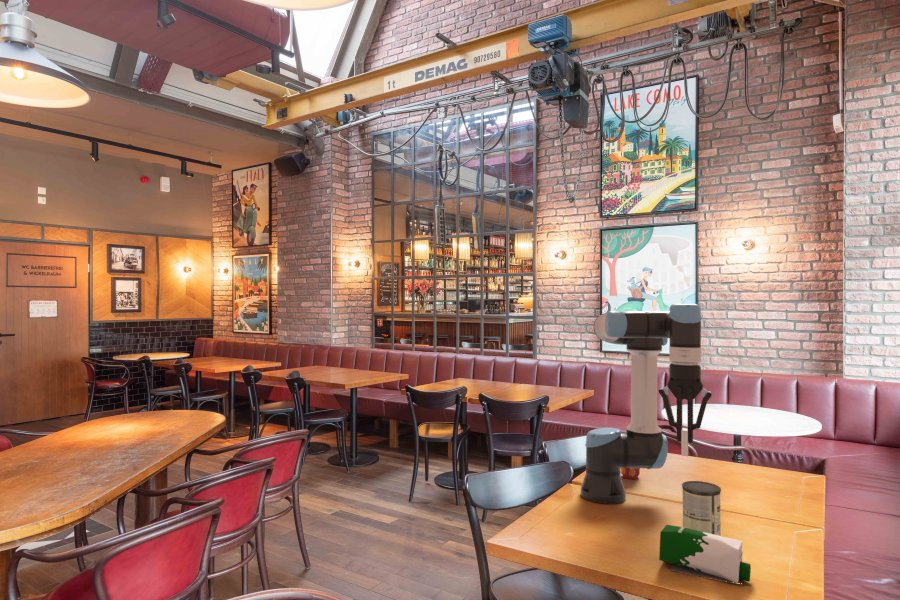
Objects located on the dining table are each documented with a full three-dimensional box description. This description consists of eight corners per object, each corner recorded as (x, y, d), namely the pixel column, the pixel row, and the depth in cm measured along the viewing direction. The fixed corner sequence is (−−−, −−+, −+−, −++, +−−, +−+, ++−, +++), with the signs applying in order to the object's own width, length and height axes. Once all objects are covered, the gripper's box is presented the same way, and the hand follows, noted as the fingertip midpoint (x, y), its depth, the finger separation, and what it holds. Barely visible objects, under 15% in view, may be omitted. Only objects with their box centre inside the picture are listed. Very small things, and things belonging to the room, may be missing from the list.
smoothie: (642, 475, 218) (642, 424, 218) (640, 481, 210) (640, 428, 211) (620, 472, 221) (620, 422, 222) (617, 478, 214) (617, 426, 214)
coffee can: (680, 525, 167) (680, 479, 168) (718, 530, 164) (718, 482, 164) (683, 539, 158) (683, 489, 158) (723, 544, 154) (723, 493, 155)
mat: (670, 570, 139) (670, 569, 139) (674, 552, 149) (674, 550, 149) (742, 585, 131) (742, 584, 131) (741, 564, 142) (741, 563, 142)
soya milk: (658, 564, 140) (747, 589, 129) (659, 528, 140) (748, 550, 129) (666, 553, 147) (751, 576, 136) (667, 519, 148) (752, 539, 136)
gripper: (656, 363, 143) (656, 454, 143) (712, 366, 137) (712, 461, 137) (659, 360, 150) (659, 448, 149) (713, 363, 144) (713, 454, 144)
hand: (684, 454), depth 143 cm, fingers closed
